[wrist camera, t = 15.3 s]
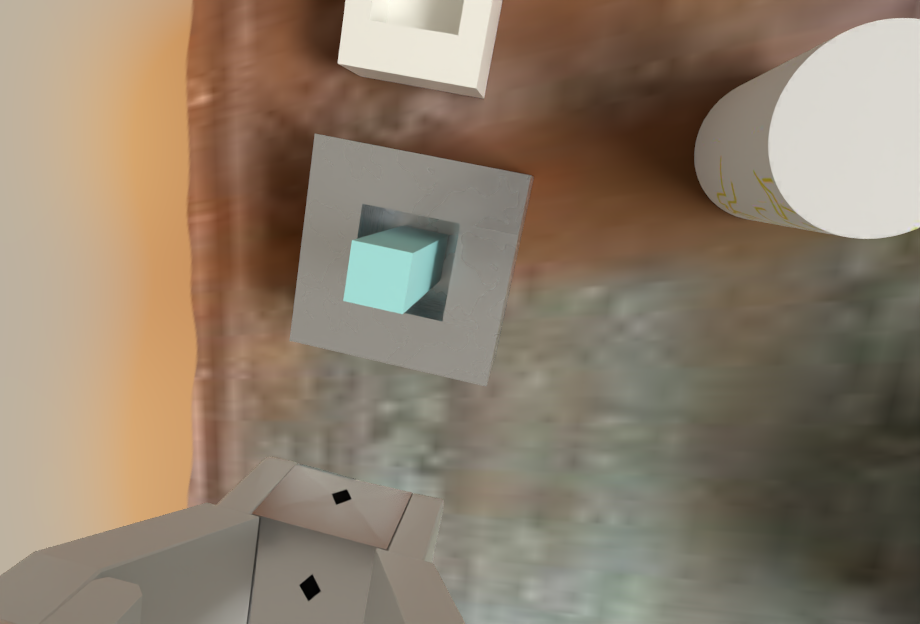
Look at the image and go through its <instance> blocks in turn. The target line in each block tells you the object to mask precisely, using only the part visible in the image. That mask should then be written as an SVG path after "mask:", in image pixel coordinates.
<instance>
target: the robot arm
mask: <svg viewBox="0 0 920 624" xmlns="http://www.w3.org/2000/svg"><path fill="white" fill-rule="evenodd" d="M443 507H444V501H443V499H439V498H434V497H429V496H425V495H420V494H415V493H414V494H413V493H411V492H407V491H402V490H398V489H394V488H389V487H385V486H381V485H376V484H372V483H367V482H363V481H359V480H356V479H354V478H350V477H347V476H343V475H339V474H336V473H332V472H329V471H325V470H321V469H318V468H314V467H311V466H307V465H303V464H298V463H297V462H294V461H289V460H285V459H281V458H277V457H266V458H265V459H264V460H263V461H262V462H260V463H259V464H258V465H257V466H256V467H255V468H254V469H253V470H252V471H251V472H250V473H249V474H248V475H247V476H246V477H245V478H244V479H243V480H242V481H241V482H240V483H238V484H237V485H236V486H235V487H234V488H233V489H232V490H231V491H230V492H229V493H228V494H227V495H226V496H225V497H224V498H223V499H222V500H221V501H220V502H219V503H218V504H216V505H214V504H210V503H204V504H201V505H197V506H194V507H190V508H187V509H183V510H180V511H176V512H173V513H169V514H166V515H162V516H159V517H155V518H152V519H148V520H144V521H141V522H137V523H134V524H130V525H127V526H123V527H120V528H116V529H113V530H109V531H106V532H103V533H99V534H95V535H92V536H88V537H85V538H81V539H78V540H74V541H71V542H67V543H64V544H60V545H57V546H53V547H49V548H46V549H42V550H39V551H35V552H33V553H32V554H30V555H29V556H28V557H26V558H25V559H23V560H22V561H21V562H19V563H18V564H16V565H15V566H14V567H12V568H11V569H9V570H8V571H6V572H5V573H3V574H2V575H1V576H0V624H465V622H464V620H463V618H462V616H461V614H460V612H459V611H458V609H457V607H456V605H455V603H454V601H453V599H452V597H451V596H450V594H449V592H448V590H447V588H446V586H445V584H444V582H443V581H442V579H441V577H440V575H439V573H438V571H437V569H436V567H435V565H434V564H433V563H432V561H433V557H434V552H435V547H436V542H437V537H438V533H439V528H440V523H441V518H442V513H443Z"/></svg>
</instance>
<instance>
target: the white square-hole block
mask: <svg viewBox="0 0 920 624" xmlns="http://www.w3.org/2000/svg"><path fill="white" fill-rule="evenodd" d="M501 6H502V0H346V1H345V9H344V17H343V25H342V33H341V41H340V48H339V56H338V64H339V65H341V66H343V67H345V68H346V69H348V70H350V71H352V72H353V73H355V74H357V75H359V76H361V77H367V78H372V79H378V80H383V81H389V82H394V83H400V84H405V85H411V86H416V87H422V88H427V89H433V90H438V91H444V92H449V93H455V94H460V95H466V96H471V97H477V98H482V99H484V96H485V91H486V86H487V80H488V75H489V70H490V64H491V59H492V54H493V48H494V43H495V38H496V32H497V27H498V22H499V16H500V11H501Z"/></svg>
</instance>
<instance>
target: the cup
mask: <svg viewBox="0 0 920 624" xmlns="http://www.w3.org/2000/svg"><path fill="white" fill-rule="evenodd" d="M694 163H695V170H696V174H697V177H698V180H699V183H700V185H701V187H702V189H703V190H704V192H705V193H706V195H707V196H708V197H709V198H710V200H711V201H712V202H713V203H715V204H716V205H717V206H718V207H719V208H721V209H722V210H724V211H725V212H727V213H729V214H732V215H734V216H737V217H740V218H744V219H749V220H754V221H760V222H765V223H771V224H777V225H782V226H788V227H793V228H799V229H805V230H810V231H816V232H821V233H827V234H833V235H838V236H844V237H850V238H859V239H874V238H884V237H890V236H895V235H899V234H903V233H906V232H909V231H912V230H915V229H917V228H919V227H920V19H913V18H894V19H885V20H879V21H874V22H871V23H867V24H864V25H861V26H858V27H855V28H853V29H851V30H848V31H846V32H844V33H842V34H840V35H838V36H836V37H834V38H832V39H830V40H828V41H826V42H825V43H823V44H821V45H819V46H817V47H815V48H813V49H811V50H809V51H807V52H805V53H803V54H801V55H799V56H797V57H795V58H793V59H791V60H789V61H787V62H785V63H783V64H781V65H779V66H777V67H776V68H774V69H772V70H770V71H768V72H766V73H764V74H762V75H760V76H758V77H756V78H754V79H752V80H750V81H748V82H746V83H744V84H742V85H740V86H738V87H737V88H735V89H733V90H732V91H730V92H729V93H727V94H726V95H725V96H724V97H722V98H721V99H720V100H719V101H718V102H717V103H716V104H715V105H714V107H713V108H712V109H711V110H710V112H709V113H708V115H707V116H706V118H705V119H704V121H703V123H702V125H701V127H700V130H699V132H698V135H697V139H696V143H695V151H694Z"/></svg>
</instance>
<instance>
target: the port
mask: <svg viewBox="0 0 920 624" xmlns="http://www.w3.org/2000/svg"><path fill="white" fill-rule="evenodd" d="M533 179H534V177H533V176H531V175H526V174H521V173H516V172H511V171H506V170H500V169H495V168H490V167H485V166H480V165H475V164H469V163H464V162H459V161H454V160H449V159H444V158H438V157H433V156H428V155H423V154H418V153H413V152H407V151H402V150H397V149H392V148H387V147H382V146H376V145H371V144H366V143H361V142H356V141H351V140H345V139H340V138H335V137H330V136H325V135H320V134H315V136H314V144H313V152H312V161H311V169H310V177H309V185H308V194H307V202H306V210H305V218H304V227H303V235H302V243H301V251H300V259H299V268H298V276H297V284H296V292H295V301H294V309H293V317H292V325H291V333H290V341H294V342H298V343H302V344H306V345H311V346H315V347H319V348H324V349H328V350H332V351H337V352H341V353H345V354H349V355H354V356H358V357H362V358H367V359H371V360H375V361H379V362H384V363H388V364H392V365H397V366H401V367H405V368H409V369H414V370H418V371H422V372H427V373H431V374H435V375H440V376H444V377H448V378H452V379H457V380H461V381H465V382H470V383H474V384H478V385H482V386H487V383H488V379H489V376H490V373H491V370H492V366H493V363H494V360H495V356H496V352H497V347H498V342H499V338H500V333H501V328H502V324H503V319H504V314H505V310H506V305H507V300H508V296H509V291H510V286H511V282H512V277H513V272H514V268H515V263H516V258H517V254H518V249H519V244H520V240H521V235H522V230H523V226H524V221H525V216H526V212H527V207H528V202H529V198H530V193H531V188H532V184H533ZM403 225H404V226H409V227H413V228H418V229H423V230H428V231H433V232H437V233H442V234H447V235H449V236H448V241H447V247H446V252H445V258H444V263H443V268H442V274H441V279H440V281H439V282H438V283H437V284H436V285H435V286H434V287H432V288H431V289H430V290H429V291H428V292H427V293H426V294H425V295H424V296H422V297H421V298H420V299H419V300H418V301H417V302H416V303H415V304H414V305H412V306H411V307H410V308H409V309H408V310H407V311H406V312H405V313H404V314H399V313H395V312H390V311H386V310H382V309H377V308H373V307H368V306H364V305H359V304H355V303H350V302H346V301H343V299H344V292H345V285H346V278H347V271H348V264H349V257H350V250H351V243H352V240H354V239H358V238H361V237H365V236H368V235H372V234H375V233H378V232H382V231H385V230H389V229H392V228H396V227H399V226H403Z"/></svg>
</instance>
